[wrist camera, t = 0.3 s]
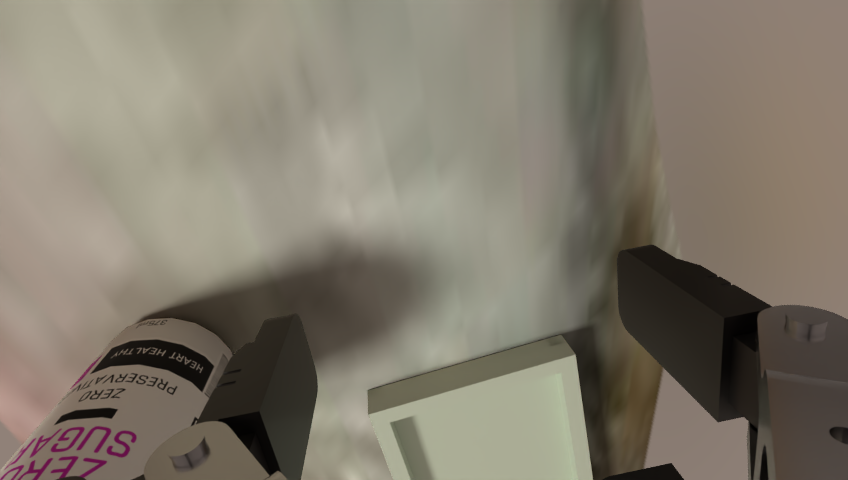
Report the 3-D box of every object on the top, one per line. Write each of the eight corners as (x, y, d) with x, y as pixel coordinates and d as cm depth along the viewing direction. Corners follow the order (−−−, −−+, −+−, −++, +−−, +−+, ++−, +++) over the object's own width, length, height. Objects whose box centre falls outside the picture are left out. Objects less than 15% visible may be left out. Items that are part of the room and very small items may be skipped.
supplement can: (169, 430, 33) (36, 697, 19) (81, 351, 30) (-153, 602, 16) (264, 377, 33) (195, 613, 19) (184, 290, 29) (29, 498, 16)
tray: (367, 390, 34) (368, 414, 32) (561, 334, 35) (575, 354, 32) (422, 536, 41) (426, 565, 39) (584, 488, 41) (597, 514, 39)
